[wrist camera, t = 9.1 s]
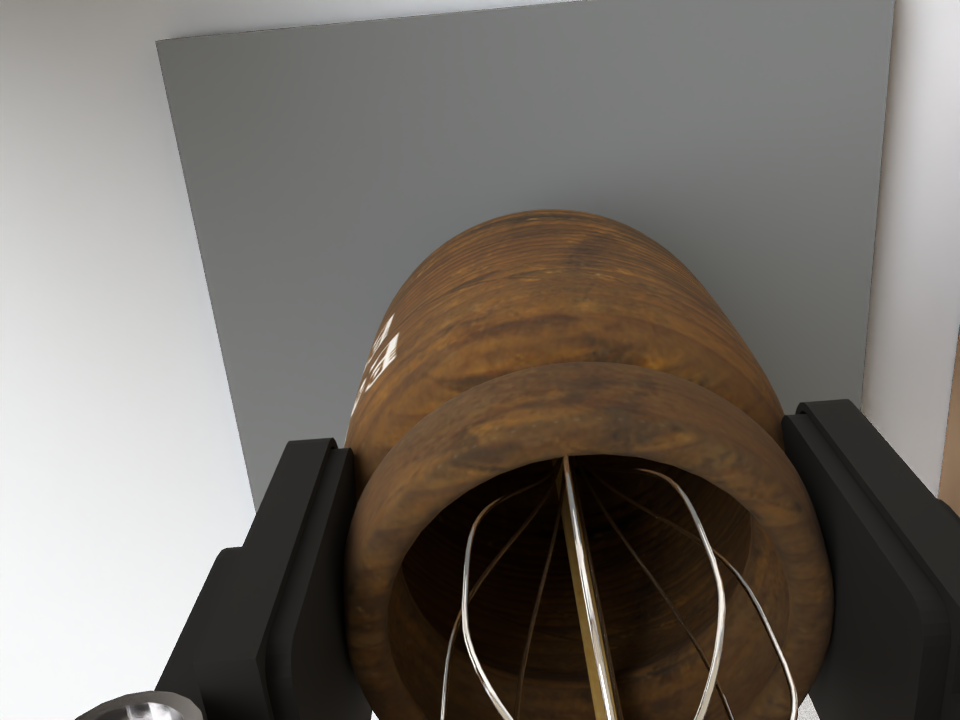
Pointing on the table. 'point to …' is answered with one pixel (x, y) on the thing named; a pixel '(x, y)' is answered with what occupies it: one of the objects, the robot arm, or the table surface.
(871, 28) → the slate coaster
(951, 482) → the wooden square frame
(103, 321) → the table surface
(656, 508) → the utensil holder
